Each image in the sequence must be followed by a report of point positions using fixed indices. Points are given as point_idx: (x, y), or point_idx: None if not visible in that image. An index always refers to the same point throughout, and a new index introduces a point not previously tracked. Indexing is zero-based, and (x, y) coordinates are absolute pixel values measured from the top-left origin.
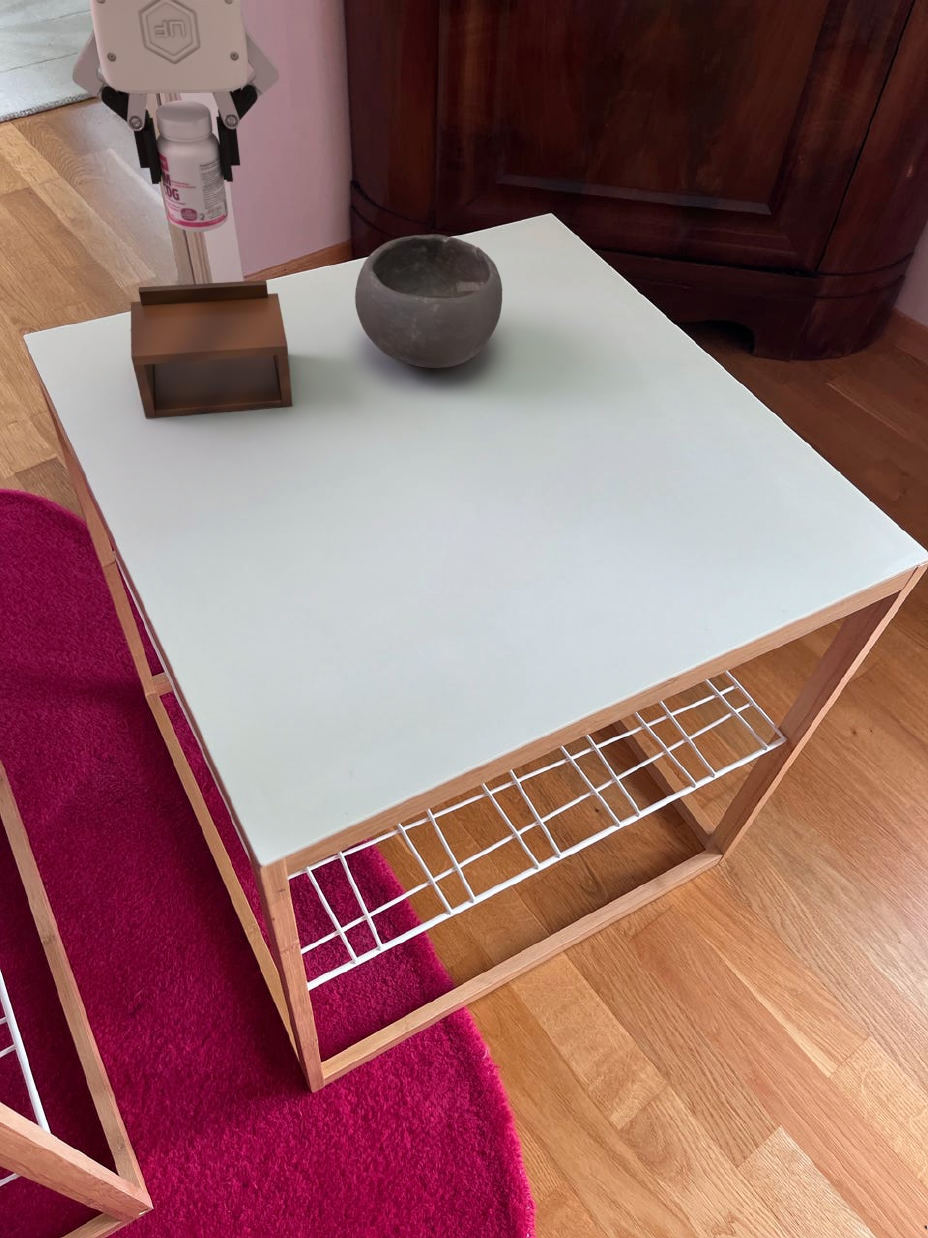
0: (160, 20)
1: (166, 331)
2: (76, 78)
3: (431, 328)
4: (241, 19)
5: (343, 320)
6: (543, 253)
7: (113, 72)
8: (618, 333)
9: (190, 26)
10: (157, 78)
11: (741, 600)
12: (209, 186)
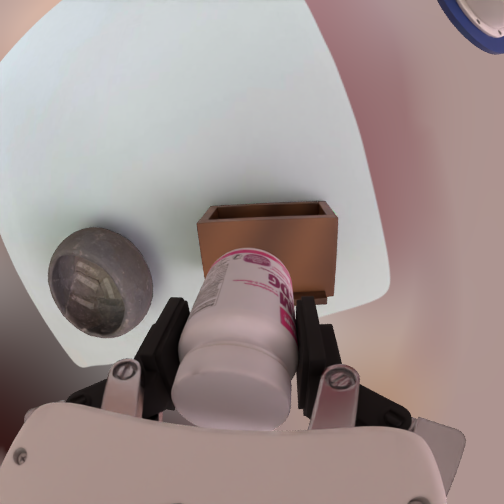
0: None
1: (306, 252)
2: (458, 438)
3: (85, 235)
4: None
5: None
6: (75, 345)
7: (414, 466)
8: (32, 269)
9: None
10: (262, 468)
11: (12, 60)
12: (210, 285)
